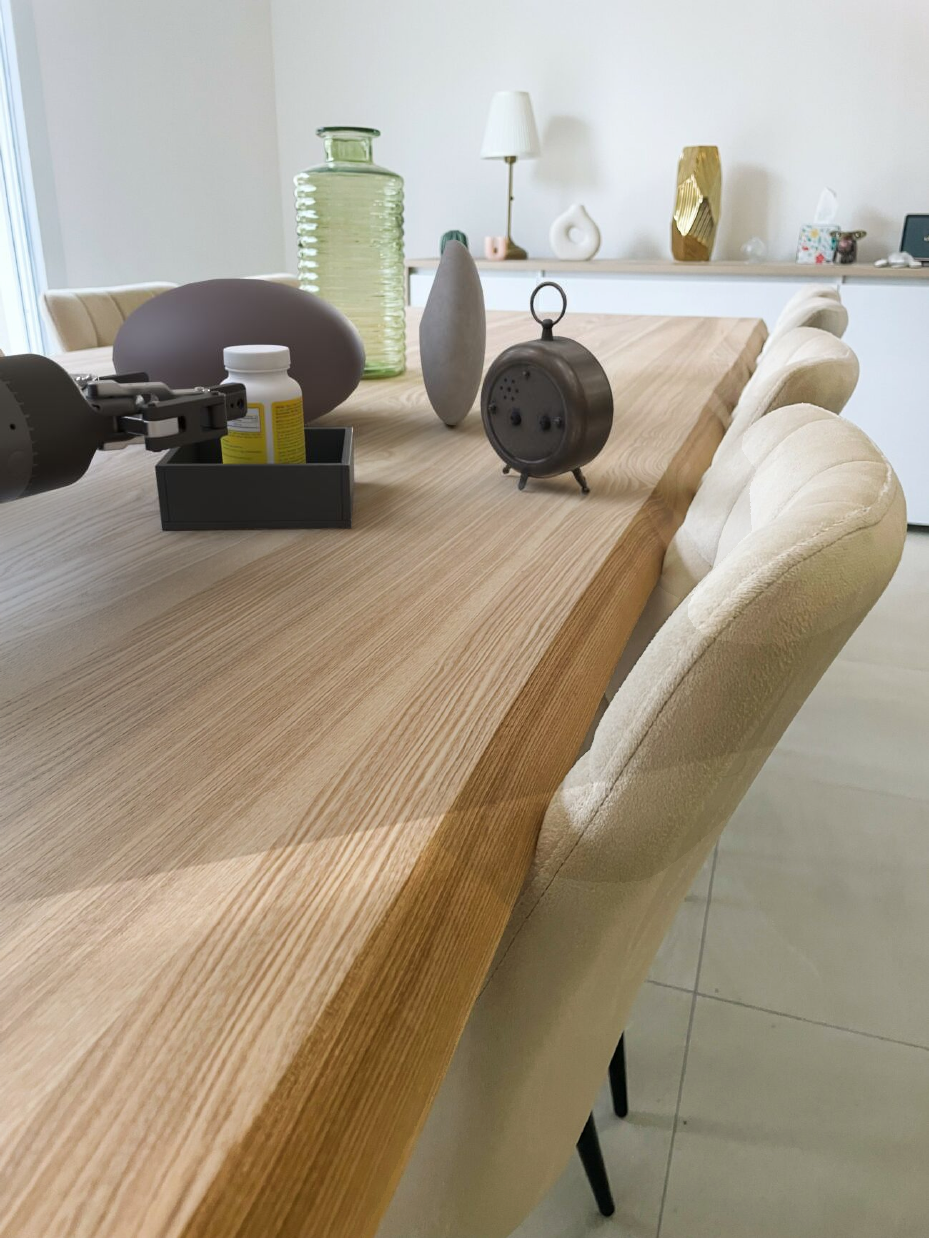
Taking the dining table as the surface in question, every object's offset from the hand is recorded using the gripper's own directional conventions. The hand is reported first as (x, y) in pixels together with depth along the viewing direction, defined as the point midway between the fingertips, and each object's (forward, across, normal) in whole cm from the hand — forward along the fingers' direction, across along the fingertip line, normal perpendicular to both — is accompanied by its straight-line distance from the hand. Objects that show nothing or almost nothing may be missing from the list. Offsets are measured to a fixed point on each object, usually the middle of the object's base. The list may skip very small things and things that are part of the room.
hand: (192, 392), depth 62 cm
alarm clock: (+22, -16, +10) cm, 29 cm away
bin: (+7, 0, +9) cm, 12 cm away
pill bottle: (+7, 0, +9) cm, 11 cm away
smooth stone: (+28, +19, +10) cm, 35 cm away
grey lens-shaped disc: (+43, +3, +10) cm, 44 cm away
